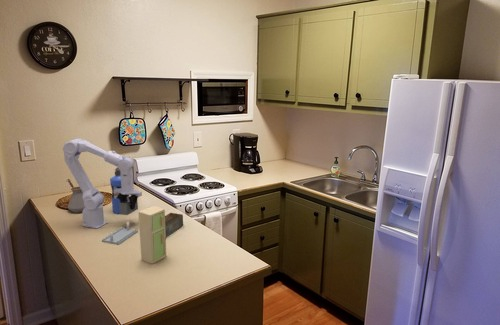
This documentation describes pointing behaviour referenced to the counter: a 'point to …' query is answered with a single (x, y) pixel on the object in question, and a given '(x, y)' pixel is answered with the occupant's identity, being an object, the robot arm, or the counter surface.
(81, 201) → the coffee pot
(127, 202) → the block
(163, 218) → the toy refrigerator
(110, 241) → the tray
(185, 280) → the counter surface
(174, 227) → the beverage carton
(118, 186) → the water bottle
